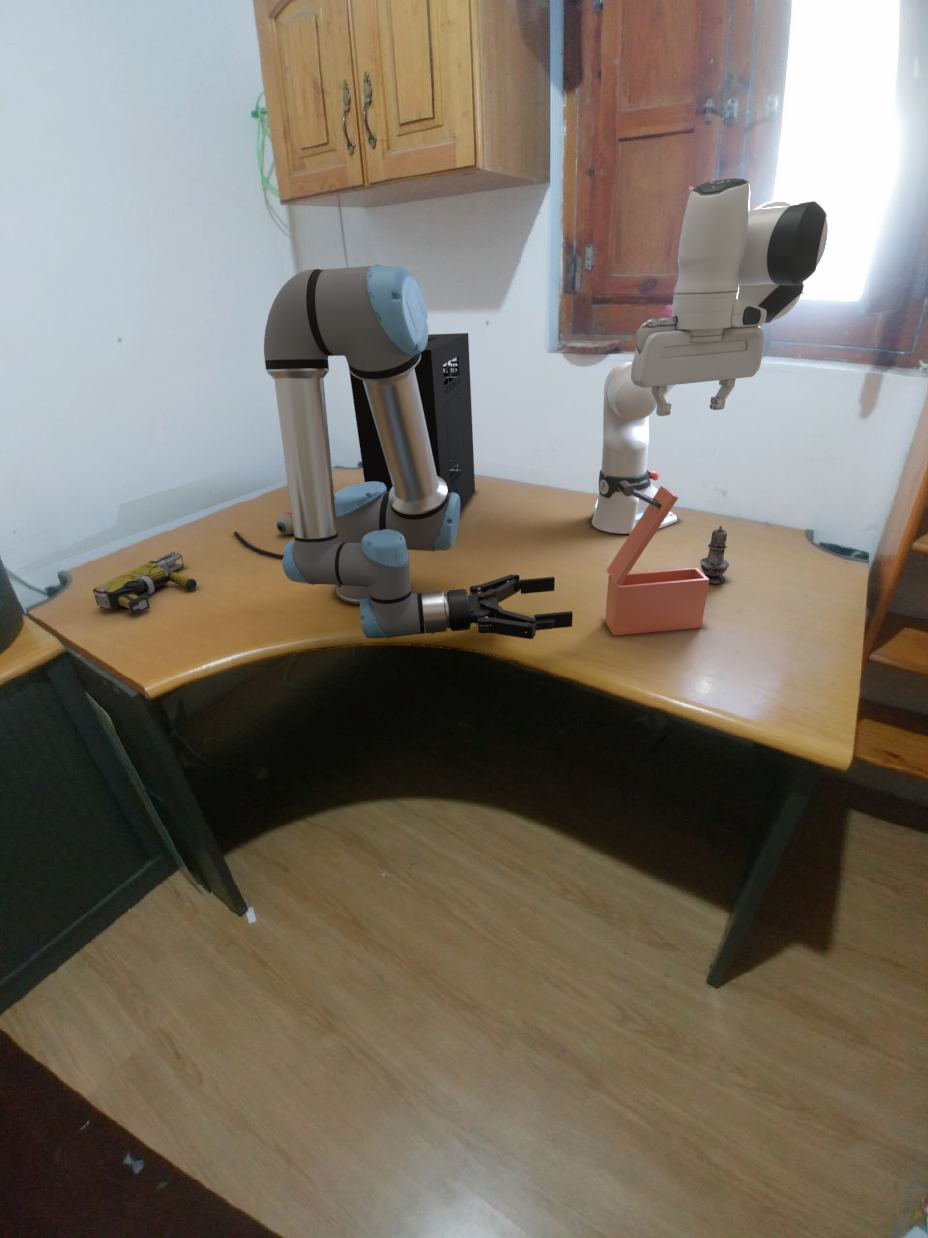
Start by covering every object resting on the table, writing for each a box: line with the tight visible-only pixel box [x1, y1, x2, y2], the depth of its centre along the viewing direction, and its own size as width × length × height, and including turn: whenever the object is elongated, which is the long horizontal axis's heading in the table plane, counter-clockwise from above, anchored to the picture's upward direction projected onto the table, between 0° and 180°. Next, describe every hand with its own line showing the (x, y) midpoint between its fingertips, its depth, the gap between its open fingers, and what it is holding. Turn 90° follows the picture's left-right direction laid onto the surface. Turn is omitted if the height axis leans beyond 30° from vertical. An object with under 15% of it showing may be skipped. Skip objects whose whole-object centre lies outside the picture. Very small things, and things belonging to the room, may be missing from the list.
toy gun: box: [92, 551, 198, 616], centre depth 137 cm, size 5×24×15 cm
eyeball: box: [275, 511, 294, 536], centre depth 163 cm, size 6×6×6 cm
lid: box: [606, 480, 679, 585], centre depth 104 cm, size 18×5×9 cm
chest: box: [604, 567, 710, 636], centre depth 112 cm, size 17×5×10 cm, turn 95°
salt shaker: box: [699, 525, 730, 585], centre depth 127 cm, size 6×6×12 cm
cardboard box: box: [348, 332, 476, 514], centre depth 164 cm, size 38×20×45 cm, turn 167°
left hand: (562, 600), depth 110 cm, fingers open, 13 cm apart
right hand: (690, 412), depth 95 cm, fingers open, 8 cm apart
